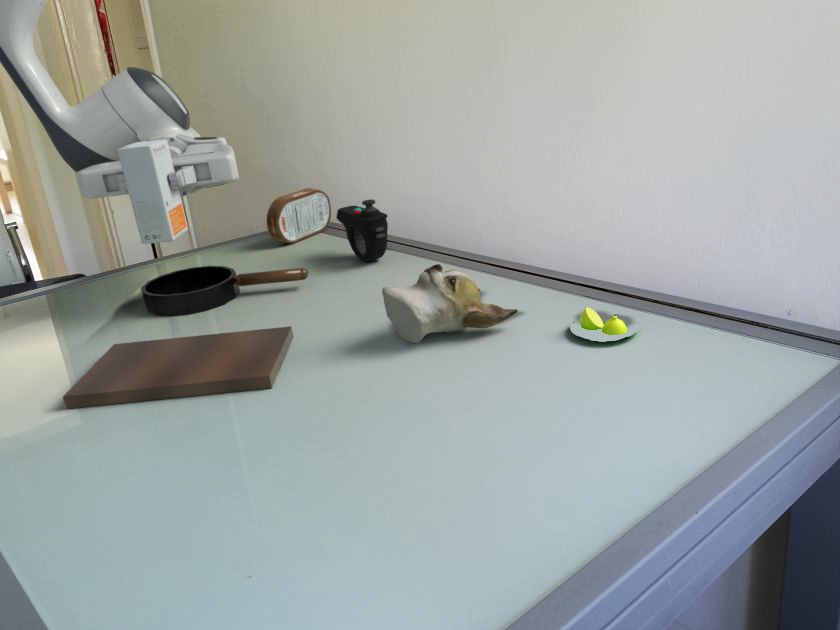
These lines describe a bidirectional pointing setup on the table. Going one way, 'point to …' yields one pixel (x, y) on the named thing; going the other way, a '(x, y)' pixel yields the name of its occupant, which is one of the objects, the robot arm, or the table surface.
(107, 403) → the cutting board
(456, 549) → the table surface
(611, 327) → the lemon
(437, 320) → the ceramic sculpture
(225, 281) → the pan
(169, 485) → the table surface
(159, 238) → the cosmetic box
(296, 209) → the tin
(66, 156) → the robot arm
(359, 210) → the controller
